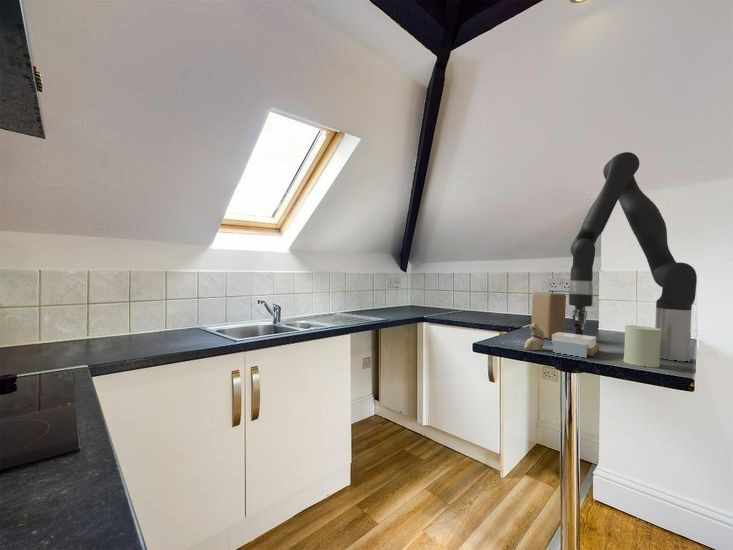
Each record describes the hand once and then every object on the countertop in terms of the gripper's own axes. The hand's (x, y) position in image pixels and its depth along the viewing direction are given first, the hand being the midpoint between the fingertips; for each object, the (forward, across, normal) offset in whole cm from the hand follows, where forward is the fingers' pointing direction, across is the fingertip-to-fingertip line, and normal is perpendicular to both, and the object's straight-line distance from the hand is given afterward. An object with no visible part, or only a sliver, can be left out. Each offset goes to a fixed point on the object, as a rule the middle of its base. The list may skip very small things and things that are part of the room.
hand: (579, 339), depth 129 cm
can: (+4, -8, -19) cm, 21 cm away
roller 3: (+2, +5, 0) cm, 5 cm away
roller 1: (+1, -8, 0) cm, 8 cm away
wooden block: (+4, +21, +16) cm, 27 cm away
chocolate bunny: (+4, -13, +12) cm, 18 cm away
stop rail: (+4, -13, 0) cm, 14 cm away
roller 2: (+1, 0, 0) cm, 1 cm away
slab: (+1, -8, 0) cm, 8 cm away
